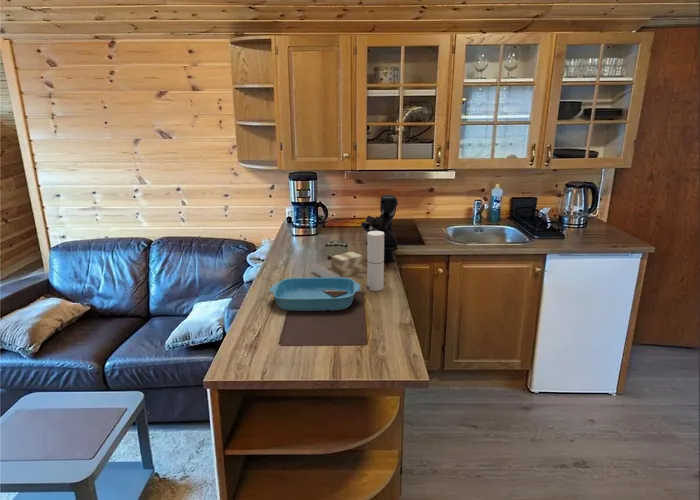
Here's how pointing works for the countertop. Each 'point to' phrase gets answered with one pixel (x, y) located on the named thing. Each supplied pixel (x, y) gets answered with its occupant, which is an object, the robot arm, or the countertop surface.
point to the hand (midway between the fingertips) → (366, 245)
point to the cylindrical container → (375, 260)
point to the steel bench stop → (322, 271)
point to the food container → (335, 248)
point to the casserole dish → (314, 293)
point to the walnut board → (354, 276)
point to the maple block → (347, 264)
